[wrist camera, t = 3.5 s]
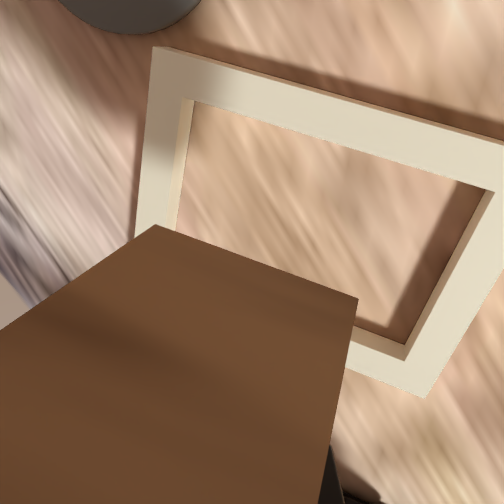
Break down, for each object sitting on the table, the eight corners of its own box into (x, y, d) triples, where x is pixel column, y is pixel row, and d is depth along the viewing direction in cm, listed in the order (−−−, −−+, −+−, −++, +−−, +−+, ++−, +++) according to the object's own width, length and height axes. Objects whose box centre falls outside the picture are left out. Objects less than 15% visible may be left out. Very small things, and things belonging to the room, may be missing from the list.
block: (297, 443, 12) (178, 864, 6) (137, 372, 13) (-112, 669, 7) (358, 298, 9) (266, 762, 3) (155, 223, 10) (-213, 476, 4)
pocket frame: (423, 381, 20) (424, 399, 19) (142, 270, 23) (130, 280, 22) (555, 155, 15) (566, 163, 14) (168, 46, 17) (152, 46, 16)
